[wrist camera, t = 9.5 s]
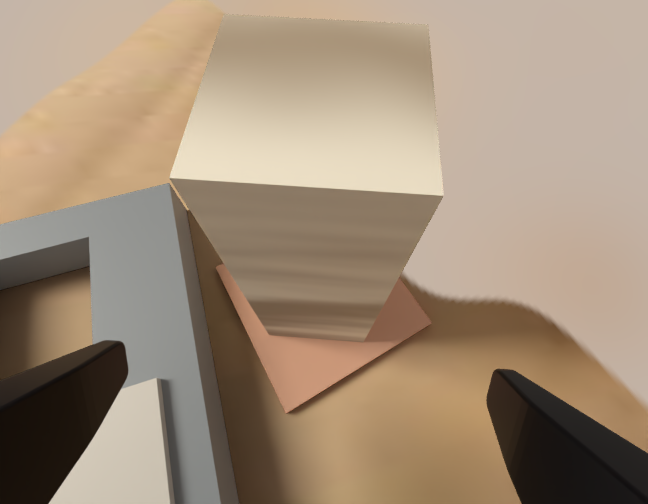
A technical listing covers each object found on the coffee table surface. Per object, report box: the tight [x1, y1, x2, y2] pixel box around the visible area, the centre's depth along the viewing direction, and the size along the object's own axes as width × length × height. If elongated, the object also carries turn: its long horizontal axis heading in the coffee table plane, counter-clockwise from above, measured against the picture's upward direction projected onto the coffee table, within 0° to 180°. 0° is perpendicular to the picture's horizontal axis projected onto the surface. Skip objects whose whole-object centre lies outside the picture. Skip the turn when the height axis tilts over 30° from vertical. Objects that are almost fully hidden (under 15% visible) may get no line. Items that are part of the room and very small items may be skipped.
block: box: [169, 14, 444, 342], centre depth 12 cm, size 4×4×12 cm
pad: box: [216, 263, 432, 413], centre depth 18 cm, size 8×8×1 cm
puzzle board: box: [0, 183, 239, 504], centre depth 13 cm, size 21×14×3 cm, turn 18°
